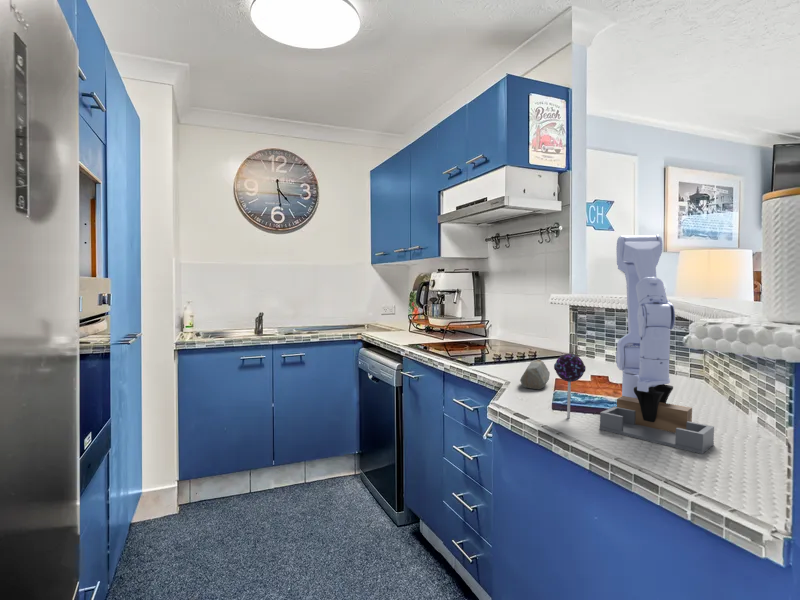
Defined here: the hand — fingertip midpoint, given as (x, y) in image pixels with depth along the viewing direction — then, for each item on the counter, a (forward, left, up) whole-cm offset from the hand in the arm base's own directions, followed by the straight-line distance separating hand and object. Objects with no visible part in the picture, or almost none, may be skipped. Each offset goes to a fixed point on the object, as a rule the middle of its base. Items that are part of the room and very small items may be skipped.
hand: (652, 418), depth 101 cm
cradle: (+8, +3, -1) cm, 9 cm away
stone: (-15, -39, -2) cm, 42 cm away
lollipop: (+9, -15, -2) cm, 18 cm away
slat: (0, 0, -2) cm, 2 cm away
